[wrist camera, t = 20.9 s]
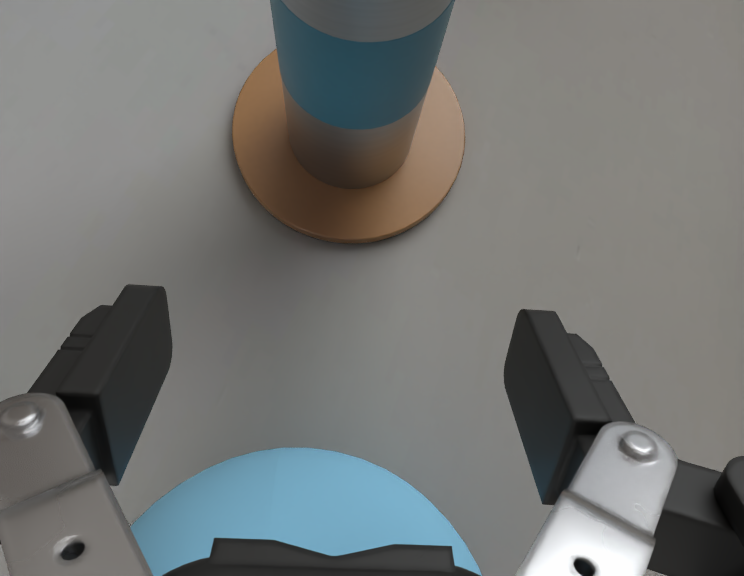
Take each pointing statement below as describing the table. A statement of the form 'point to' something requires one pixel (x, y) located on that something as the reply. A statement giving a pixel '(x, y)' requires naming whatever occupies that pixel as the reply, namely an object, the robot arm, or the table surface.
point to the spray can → (356, 81)
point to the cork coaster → (333, 204)
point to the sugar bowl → (292, 509)
